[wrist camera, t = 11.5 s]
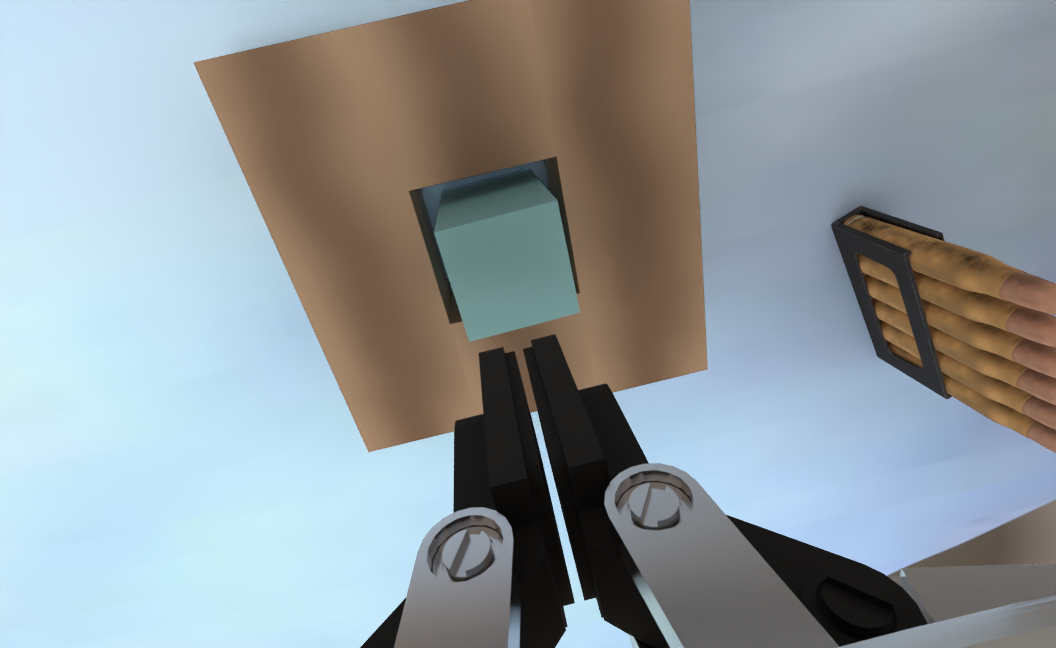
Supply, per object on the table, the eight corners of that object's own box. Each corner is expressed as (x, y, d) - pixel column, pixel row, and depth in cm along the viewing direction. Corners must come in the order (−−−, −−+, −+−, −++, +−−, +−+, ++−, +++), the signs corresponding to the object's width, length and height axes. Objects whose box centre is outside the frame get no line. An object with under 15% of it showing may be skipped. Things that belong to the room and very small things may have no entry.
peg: (528, 168, 24) (557, 200, 17) (547, 252, 26) (580, 312, 19) (442, 191, 24) (433, 232, 17) (467, 273, 26) (469, 342, 19)
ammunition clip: (904, 343, 32) (1133, 472, 21) (878, 358, 32) (1090, 494, 21) (861, 204, 27) (1123, 279, 16) (830, 223, 27) (1068, 309, 17)
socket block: (649, -26, 21) (686, -49, 18) (677, 335, 29) (707, 369, 26) (239, 67, 21) (193, 62, 17) (380, 407, 29) (368, 452, 25)
